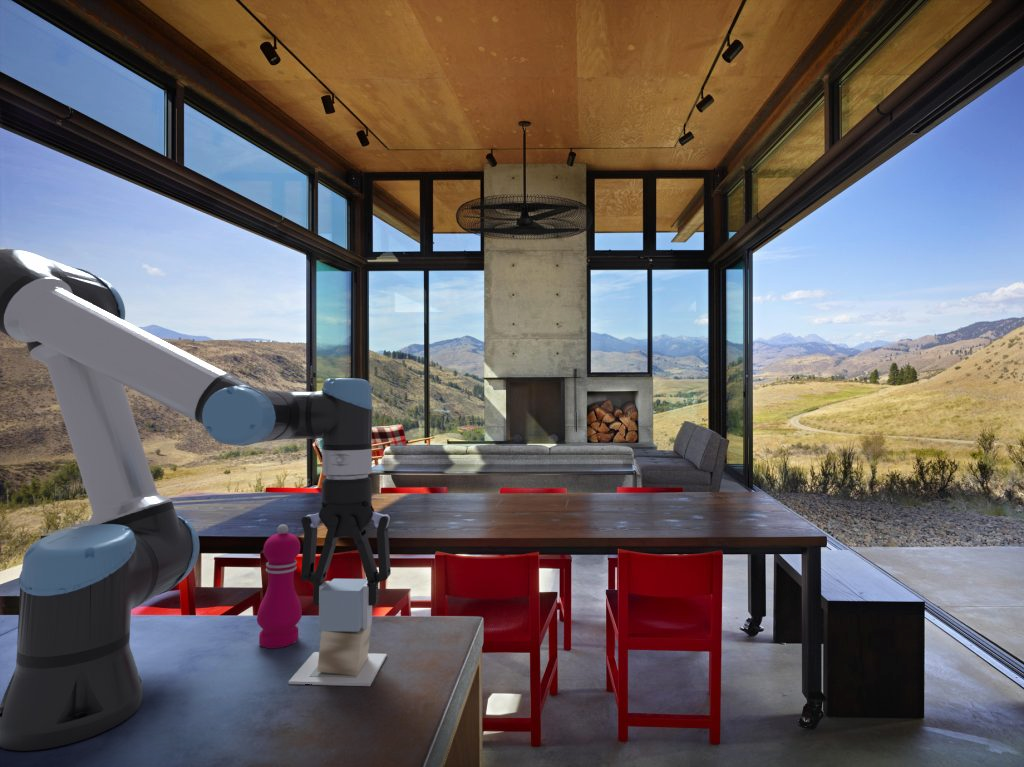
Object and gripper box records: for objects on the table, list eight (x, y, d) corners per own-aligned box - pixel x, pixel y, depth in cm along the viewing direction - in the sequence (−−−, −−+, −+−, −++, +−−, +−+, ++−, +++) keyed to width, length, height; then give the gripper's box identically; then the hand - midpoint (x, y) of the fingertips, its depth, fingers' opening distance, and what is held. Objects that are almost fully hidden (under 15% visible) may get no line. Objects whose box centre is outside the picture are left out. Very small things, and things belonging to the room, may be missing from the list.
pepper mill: (263, 653, 92) (268, 530, 93) (250, 639, 97) (254, 523, 98) (307, 642, 97) (311, 525, 98) (292, 629, 102) (296, 518, 103)
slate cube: (319, 631, 84) (320, 590, 84) (333, 616, 90) (333, 578, 90) (358, 631, 84) (359, 590, 84) (370, 616, 90) (370, 579, 90)
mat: (288, 684, 82) (288, 680, 82) (313, 654, 92) (314, 651, 92) (369, 686, 82) (370, 682, 82) (386, 656, 92) (386, 653, 92)
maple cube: (317, 671, 84) (321, 630, 84) (330, 654, 90) (334, 616, 90) (356, 675, 84) (361, 635, 84) (367, 658, 90) (371, 620, 90)
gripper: (276, 479, 85) (274, 635, 84) (402, 478, 84) (401, 635, 83) (296, 474, 92) (294, 617, 91) (411, 473, 92) (411, 617, 91)
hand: (345, 625), depth 87 cm, fingers closed on slate cube, 6 cm apart
